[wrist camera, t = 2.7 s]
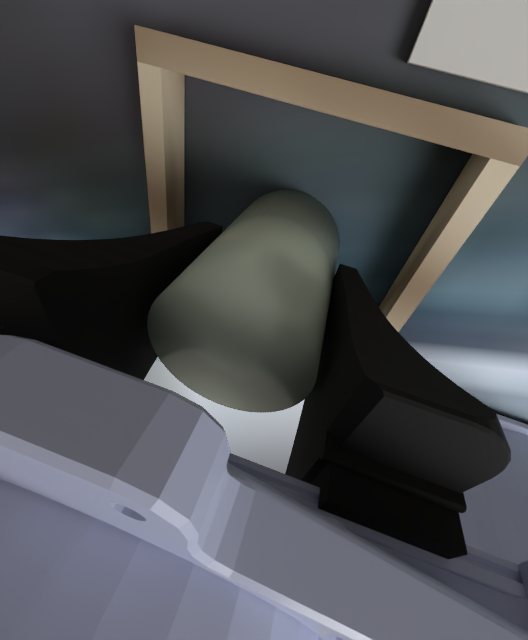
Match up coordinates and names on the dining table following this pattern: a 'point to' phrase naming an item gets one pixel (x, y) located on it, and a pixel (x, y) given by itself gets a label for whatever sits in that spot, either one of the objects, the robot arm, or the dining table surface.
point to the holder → (339, 100)
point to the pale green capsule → (253, 306)
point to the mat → (476, 41)
